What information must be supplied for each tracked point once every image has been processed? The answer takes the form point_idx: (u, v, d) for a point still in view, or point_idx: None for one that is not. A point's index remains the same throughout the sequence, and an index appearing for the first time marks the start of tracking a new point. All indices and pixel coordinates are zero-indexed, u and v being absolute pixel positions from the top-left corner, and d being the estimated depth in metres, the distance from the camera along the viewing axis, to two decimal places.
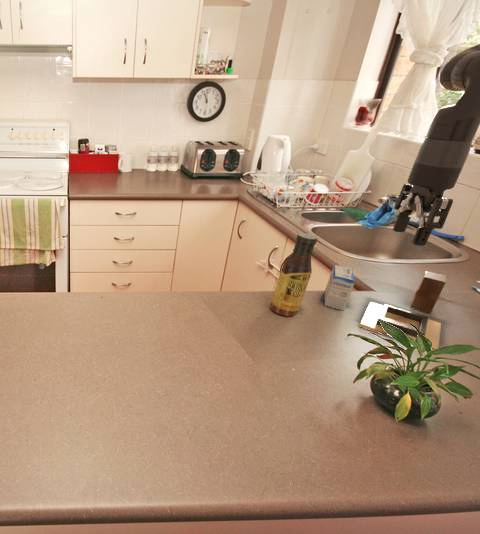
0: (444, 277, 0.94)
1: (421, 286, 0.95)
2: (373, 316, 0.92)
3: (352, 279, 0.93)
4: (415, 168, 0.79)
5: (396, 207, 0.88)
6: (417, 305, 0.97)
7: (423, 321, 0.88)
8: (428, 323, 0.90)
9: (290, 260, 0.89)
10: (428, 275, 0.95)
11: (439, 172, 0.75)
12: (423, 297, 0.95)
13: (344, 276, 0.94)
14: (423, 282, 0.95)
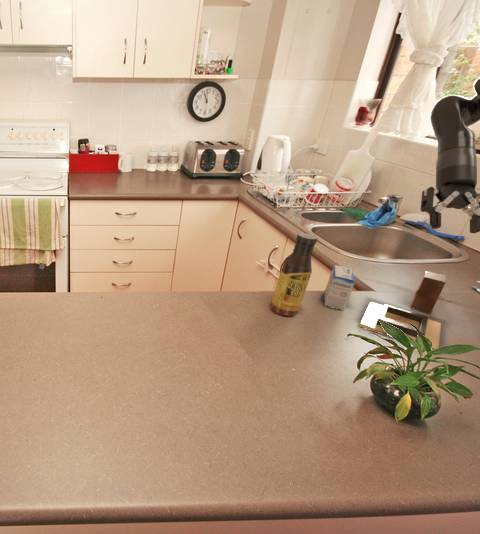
0: (444, 277, 0.94)
1: (421, 286, 0.95)
2: (373, 316, 0.92)
3: (352, 279, 0.93)
4: None
5: None
6: (417, 305, 0.97)
7: (423, 321, 0.88)
8: (428, 323, 0.90)
9: (290, 260, 0.89)
10: (428, 275, 0.95)
11: (437, 175, 1.00)
12: (423, 297, 0.95)
13: (344, 276, 0.94)
14: (423, 282, 0.95)
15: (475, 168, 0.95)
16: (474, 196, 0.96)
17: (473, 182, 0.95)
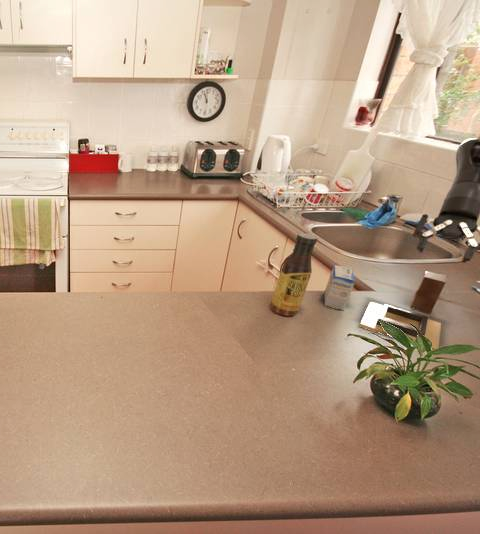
0: (444, 277, 0.94)
1: (421, 286, 0.95)
2: (373, 316, 0.92)
3: (352, 279, 0.93)
4: None
5: None
6: (417, 305, 0.97)
7: (423, 321, 0.88)
8: (428, 323, 0.90)
9: (290, 260, 0.89)
10: (428, 275, 0.95)
11: None
12: (423, 297, 0.95)
13: (344, 276, 0.94)
14: (423, 282, 0.95)
15: (476, 201, 0.97)
16: (472, 228, 0.97)
17: (469, 213, 0.97)
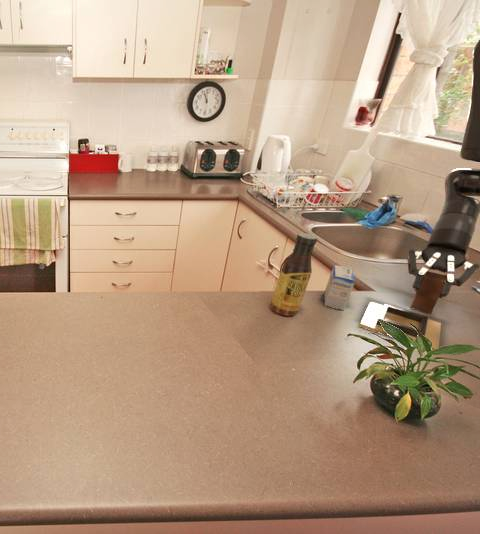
0: (444, 277, 0.94)
1: (421, 286, 0.95)
2: (373, 316, 0.92)
3: (352, 279, 0.93)
4: None
5: None
6: (417, 305, 0.97)
7: (423, 321, 0.88)
8: (428, 323, 0.90)
9: (290, 260, 0.89)
10: (428, 275, 0.95)
11: None
12: (424, 297, 0.95)
13: (344, 276, 0.94)
14: (423, 282, 0.94)
15: (465, 234, 0.94)
16: (461, 261, 0.94)
17: (457, 246, 0.94)
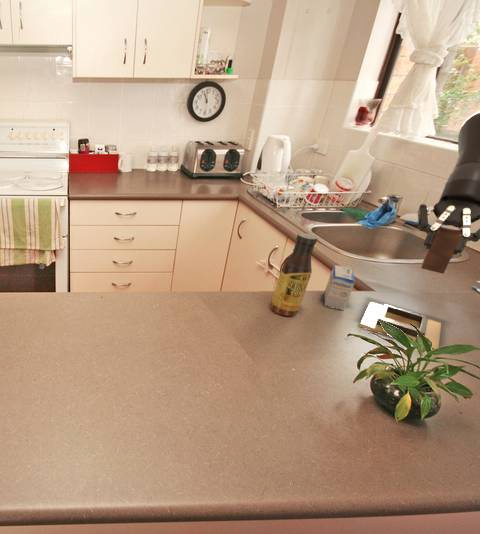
0: (459, 232, 0.85)
1: (434, 242, 0.86)
2: (373, 316, 0.92)
3: (352, 279, 0.93)
4: None
5: None
6: (428, 264, 0.88)
7: (423, 321, 0.88)
8: (428, 323, 0.90)
9: (290, 260, 0.89)
10: (442, 230, 0.86)
11: None
12: (436, 254, 0.86)
13: (344, 276, 0.94)
14: (436, 238, 0.86)
15: None
16: (478, 214, 0.85)
17: (474, 197, 0.85)
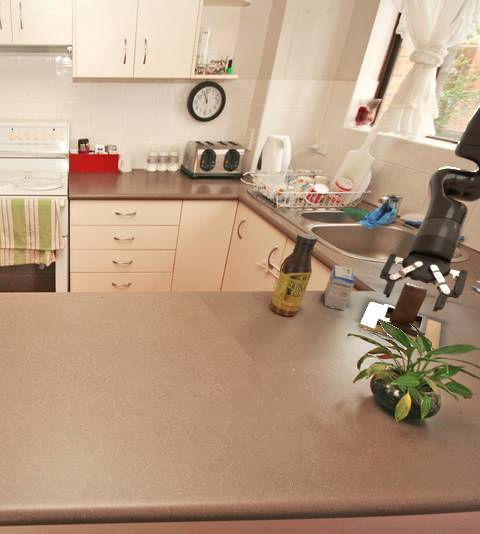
0: (425, 290, 0.85)
1: (399, 300, 0.86)
2: (373, 316, 0.92)
3: (352, 279, 0.93)
4: None
5: None
6: (395, 321, 0.88)
7: (423, 321, 0.88)
8: (428, 323, 0.90)
9: (290, 260, 0.89)
10: (407, 288, 0.86)
11: None
12: (402, 311, 0.87)
13: (344, 276, 0.94)
14: (402, 295, 0.86)
15: (449, 241, 0.85)
16: (444, 271, 0.85)
17: (441, 255, 0.85)
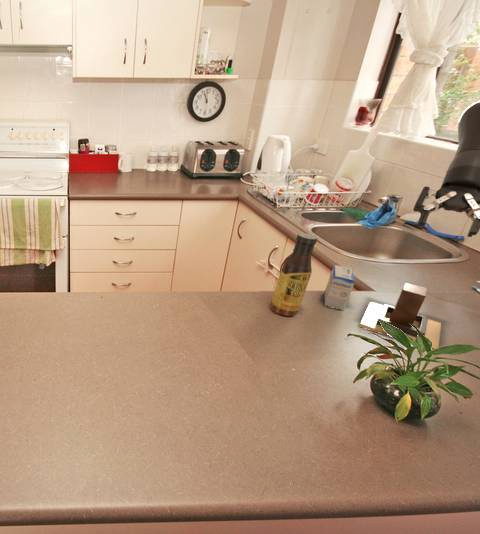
0: (425, 290, 0.85)
1: (399, 300, 0.86)
2: (373, 316, 0.92)
3: (352, 279, 0.93)
4: None
5: None
6: (395, 321, 0.88)
7: (423, 321, 0.88)
8: (428, 323, 0.90)
9: (290, 260, 0.89)
10: (407, 288, 0.86)
11: None
12: (402, 311, 0.87)
13: (344, 276, 0.94)
14: (402, 295, 0.86)
15: None
16: (478, 199, 0.88)
17: (475, 183, 0.88)
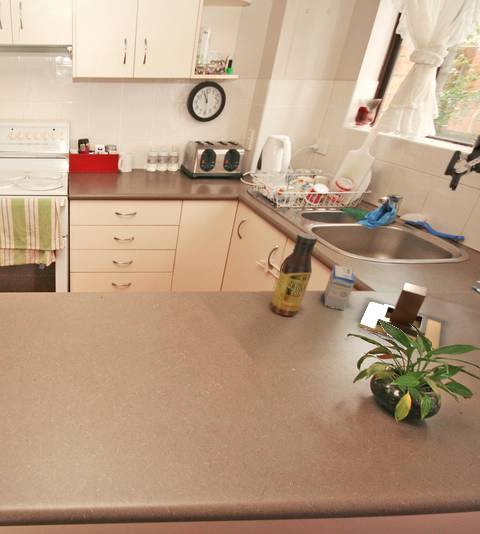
0: (425, 290, 0.85)
1: (399, 300, 0.86)
2: (373, 316, 0.92)
3: (352, 279, 0.93)
4: None
5: None
6: (395, 321, 0.88)
7: (423, 321, 0.88)
8: (428, 323, 0.90)
9: (290, 260, 0.89)
10: (407, 288, 0.86)
11: None
12: (402, 311, 0.87)
13: (344, 276, 0.94)
14: (402, 295, 0.86)
15: None
16: None
17: None
